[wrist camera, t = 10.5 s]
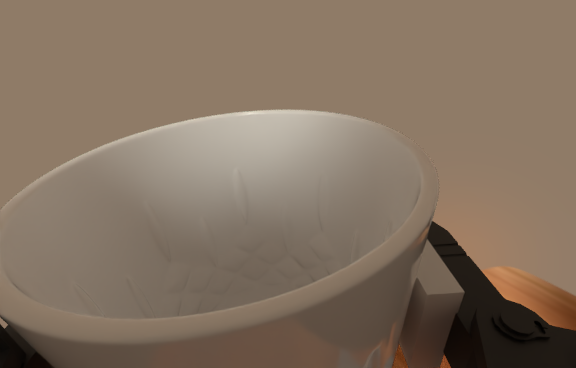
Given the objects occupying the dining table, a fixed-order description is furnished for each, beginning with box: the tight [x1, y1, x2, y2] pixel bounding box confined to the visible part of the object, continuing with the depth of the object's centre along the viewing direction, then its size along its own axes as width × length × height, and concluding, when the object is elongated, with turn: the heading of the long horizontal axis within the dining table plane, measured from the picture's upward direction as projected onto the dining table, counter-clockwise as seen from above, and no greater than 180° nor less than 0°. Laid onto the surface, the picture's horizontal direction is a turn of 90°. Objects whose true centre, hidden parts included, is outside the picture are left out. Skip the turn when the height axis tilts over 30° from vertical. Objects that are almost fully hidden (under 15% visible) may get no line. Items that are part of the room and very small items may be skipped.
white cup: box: [0, 110, 439, 368], centre depth 8 cm, size 8×8×10 cm
